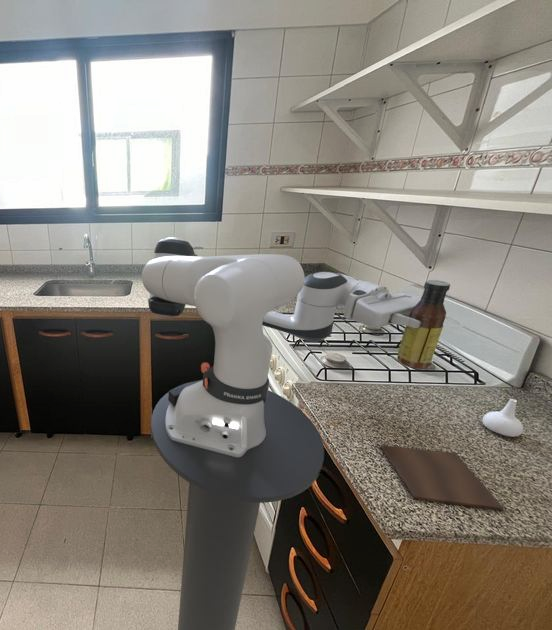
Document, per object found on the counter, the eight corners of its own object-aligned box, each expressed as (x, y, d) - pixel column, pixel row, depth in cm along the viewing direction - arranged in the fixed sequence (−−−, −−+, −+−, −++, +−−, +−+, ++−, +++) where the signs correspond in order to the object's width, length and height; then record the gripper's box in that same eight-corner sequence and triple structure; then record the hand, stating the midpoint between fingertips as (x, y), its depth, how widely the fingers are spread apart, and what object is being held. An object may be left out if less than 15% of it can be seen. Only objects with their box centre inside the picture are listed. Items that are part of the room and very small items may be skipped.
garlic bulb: (490, 436, 77) (505, 407, 73) (474, 418, 82) (487, 390, 79) (526, 442, 75) (543, 413, 72) (507, 423, 80) (522, 395, 77)
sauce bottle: (424, 359, 82) (455, 280, 74) (432, 372, 77) (466, 289, 69) (391, 353, 85) (418, 276, 77) (396, 366, 79) (426, 284, 71)
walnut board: (413, 498, 63) (414, 496, 62) (380, 447, 74) (381, 445, 74) (502, 510, 60) (504, 508, 60) (454, 455, 72) (455, 453, 72)
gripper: (393, 306, 92) (454, 326, 80) (338, 318, 85) (396, 343, 73) (400, 283, 90) (464, 301, 78) (344, 294, 83) (405, 316, 71)
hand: (430, 322), depth 76 cm, fingers closed on sauce bottle, 6 cm apart
